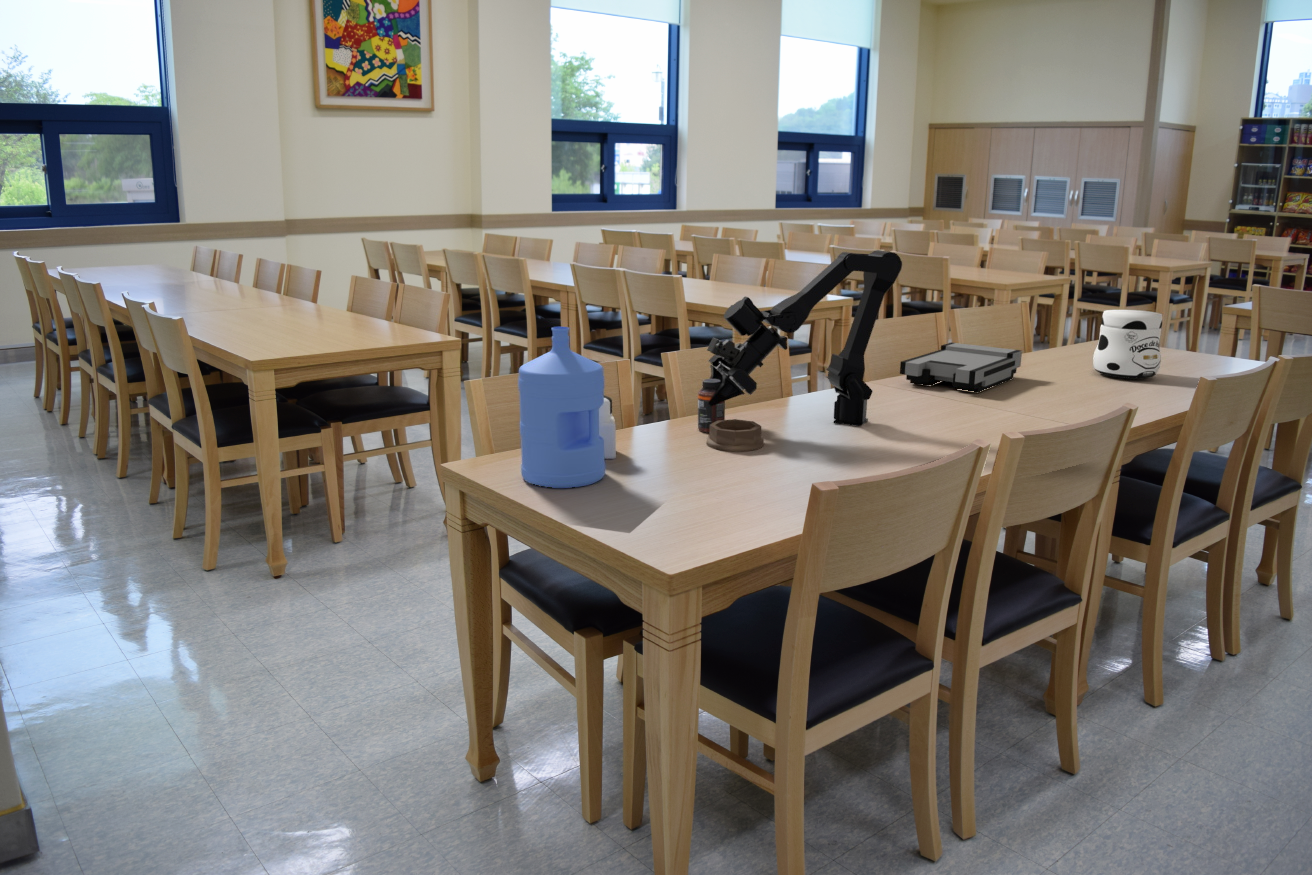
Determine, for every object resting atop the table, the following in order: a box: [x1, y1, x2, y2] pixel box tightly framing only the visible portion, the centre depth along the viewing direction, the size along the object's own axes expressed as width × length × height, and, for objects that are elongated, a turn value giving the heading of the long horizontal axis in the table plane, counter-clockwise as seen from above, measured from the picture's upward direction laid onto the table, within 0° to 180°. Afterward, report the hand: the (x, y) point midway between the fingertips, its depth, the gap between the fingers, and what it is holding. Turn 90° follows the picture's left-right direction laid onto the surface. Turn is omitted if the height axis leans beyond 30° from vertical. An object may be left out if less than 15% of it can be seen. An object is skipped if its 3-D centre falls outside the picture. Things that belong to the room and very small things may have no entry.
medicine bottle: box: [599, 395, 617, 460], centre depth 194 cm, size 7×7×12 cm
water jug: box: [517, 326, 606, 489], centre depth 178 cm, size 16×16×28 cm
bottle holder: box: [706, 418, 765, 453], centre depth 204 cm, size 12×12×4 cm
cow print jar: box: [1092, 309, 1163, 380], centre depth 274 cm, size 17×17×18 cm
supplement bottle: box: [697, 378, 726, 434], centre depth 214 cm, size 6×6×11 cm
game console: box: [899, 342, 1023, 393], centre depth 266 cm, size 21×32×8 cm, turn 140°
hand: (705, 401), depth 213 cm, fingers closed on supplement bottle, 6 cm apart
